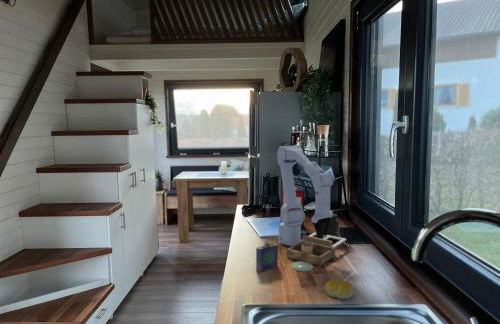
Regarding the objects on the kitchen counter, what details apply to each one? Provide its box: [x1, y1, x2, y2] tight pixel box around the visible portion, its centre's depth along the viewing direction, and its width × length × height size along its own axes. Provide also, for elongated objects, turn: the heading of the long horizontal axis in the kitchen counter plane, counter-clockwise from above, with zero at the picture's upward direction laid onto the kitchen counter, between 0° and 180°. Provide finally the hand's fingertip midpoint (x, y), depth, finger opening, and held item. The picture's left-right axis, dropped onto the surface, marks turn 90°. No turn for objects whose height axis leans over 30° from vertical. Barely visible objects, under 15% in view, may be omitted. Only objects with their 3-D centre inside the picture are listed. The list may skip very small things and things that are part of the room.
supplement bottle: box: [323, 213, 341, 243], centre depth 167 cm, size 7×7×12 cm
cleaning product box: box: [279, 184, 305, 231], centre depth 190 cm, size 16×9×20 cm, turn 6°
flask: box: [255, 240, 279, 273], centre depth 134 cm, size 9×3×11 cm, turn 121°
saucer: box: [291, 261, 314, 272], centre depth 136 cm, size 8×8×1 cm
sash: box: [301, 231, 347, 249], centre depth 155 cm, size 15×13×3 cm
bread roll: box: [324, 279, 355, 300], centre depth 116 cm, size 8×9×4 cm
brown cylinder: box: [302, 243, 313, 255], centre depth 144 cm, size 4×4×6 cm
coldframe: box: [286, 241, 336, 267], centre depth 146 cm, size 15×13×4 cm
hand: (322, 236), depth 143 cm, fingers open, 3 cm apart
